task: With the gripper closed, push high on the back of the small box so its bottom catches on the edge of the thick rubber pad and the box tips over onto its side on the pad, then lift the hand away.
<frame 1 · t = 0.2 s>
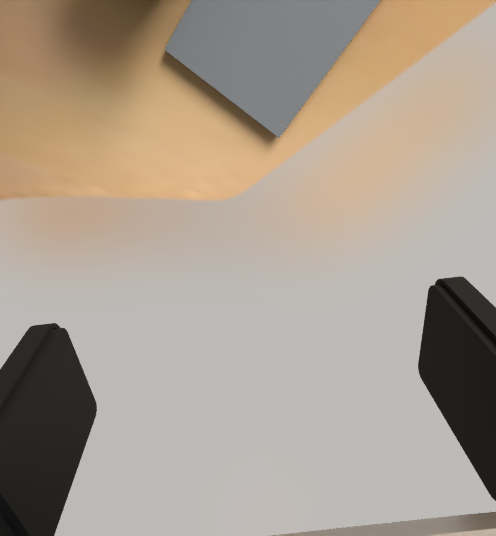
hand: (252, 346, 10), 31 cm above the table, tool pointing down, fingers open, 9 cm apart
rubber pad: (279, 9, 33), on the table
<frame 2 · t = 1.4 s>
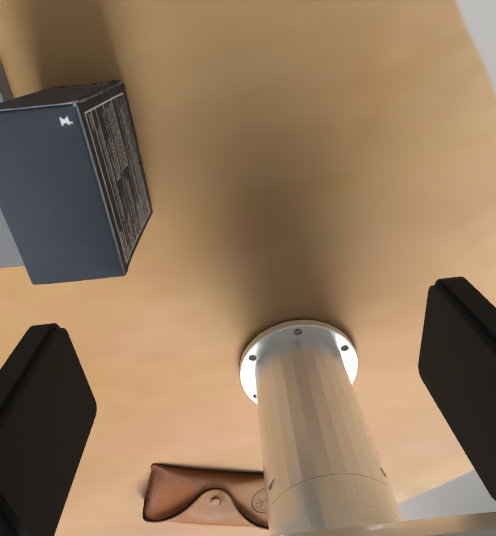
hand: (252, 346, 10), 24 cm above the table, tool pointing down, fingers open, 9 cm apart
sunglasses case: (213, 482, 54), on the table
small box: (100, 156, 32), on the table
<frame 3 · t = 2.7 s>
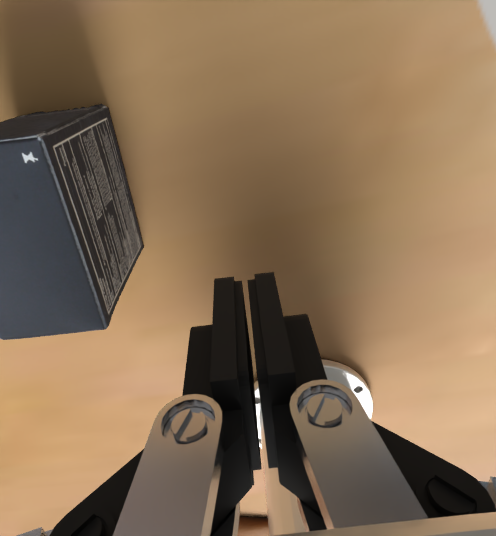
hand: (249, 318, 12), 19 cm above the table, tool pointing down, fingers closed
sunglasses case: (218, 526, 50), on the table
small box: (85, 186, 29), on the table
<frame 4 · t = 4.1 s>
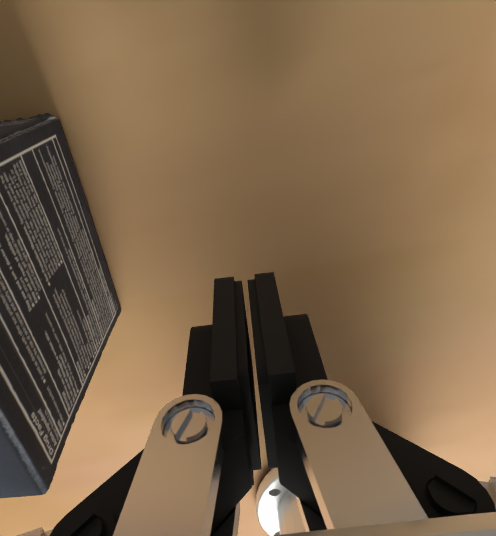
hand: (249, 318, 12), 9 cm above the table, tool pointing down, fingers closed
small box: (33, 231, 20), on the table
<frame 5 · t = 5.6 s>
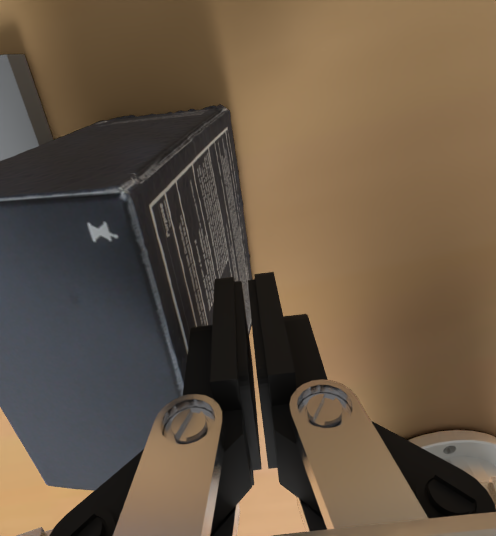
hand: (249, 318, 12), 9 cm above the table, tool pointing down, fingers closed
small box: (182, 223, 20), on the table
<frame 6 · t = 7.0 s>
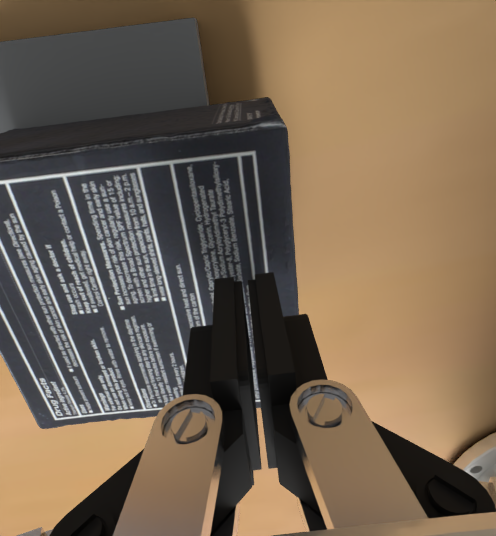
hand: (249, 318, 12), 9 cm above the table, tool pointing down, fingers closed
small box: (294, 247, 15), point 5 cm above the table, touching rubber pad
rubber pad: (103, 225, 20), on the table
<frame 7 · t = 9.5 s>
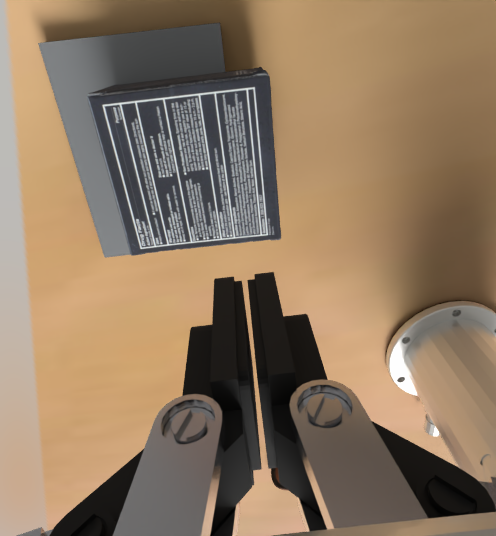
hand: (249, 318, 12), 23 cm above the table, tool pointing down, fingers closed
small box: (275, 152, 27), point 5 cm above the table, touching rubber pad
rubber pad: (157, 150, 32), on the table
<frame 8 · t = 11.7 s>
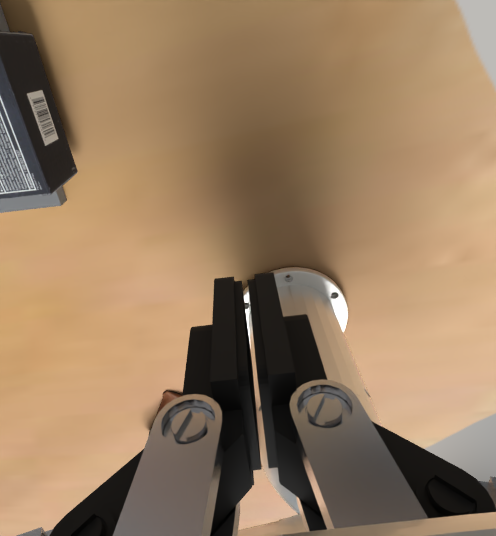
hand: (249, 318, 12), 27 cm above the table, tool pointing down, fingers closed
small box: (46, 113, 29), point 5 cm above the table, touching rubber pad
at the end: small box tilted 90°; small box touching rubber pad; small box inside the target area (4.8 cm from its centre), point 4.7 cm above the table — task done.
